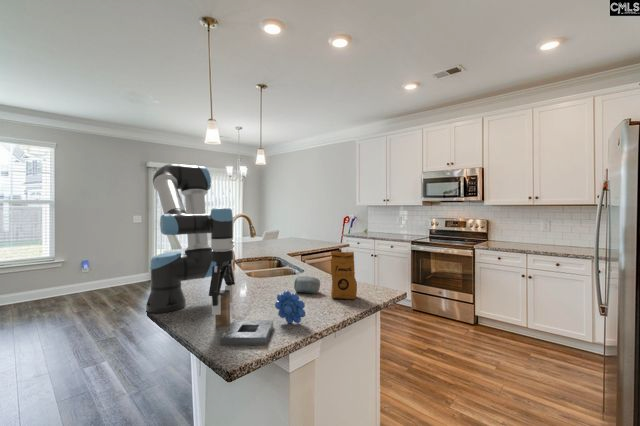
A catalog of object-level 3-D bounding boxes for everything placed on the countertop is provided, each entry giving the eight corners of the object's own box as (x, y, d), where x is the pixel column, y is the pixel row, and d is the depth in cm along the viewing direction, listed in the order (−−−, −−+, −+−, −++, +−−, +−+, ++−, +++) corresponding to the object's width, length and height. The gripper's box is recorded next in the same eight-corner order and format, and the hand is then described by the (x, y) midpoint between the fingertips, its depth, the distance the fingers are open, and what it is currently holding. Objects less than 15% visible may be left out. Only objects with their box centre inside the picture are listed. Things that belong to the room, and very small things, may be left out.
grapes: (271, 326, 104) (270, 293, 104) (277, 319, 111) (277, 288, 111) (302, 329, 102) (302, 295, 102) (307, 321, 108) (306, 289, 108)
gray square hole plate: (220, 345, 90) (220, 337, 90) (234, 327, 104) (233, 320, 104) (265, 345, 90) (265, 337, 90) (273, 327, 104) (273, 320, 104)
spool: (288, 287, 145) (296, 268, 148) (295, 291, 153) (303, 273, 156) (311, 297, 139) (319, 278, 142) (317, 301, 147) (325, 282, 150)
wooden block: (215, 326, 105) (215, 293, 105) (219, 322, 109) (219, 290, 109) (226, 326, 105) (226, 293, 105) (230, 322, 109) (229, 290, 109)
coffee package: (356, 301, 132) (356, 253, 132) (329, 300, 135) (329, 252, 135) (357, 295, 142) (357, 250, 142) (332, 293, 145) (332, 249, 144)
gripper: (220, 254, 94) (221, 320, 94) (241, 246, 119) (242, 298, 119) (197, 255, 94) (198, 320, 94) (223, 246, 119) (224, 298, 119)
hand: (223, 308), depth 106 cm, fingers open, 13 cm apart
